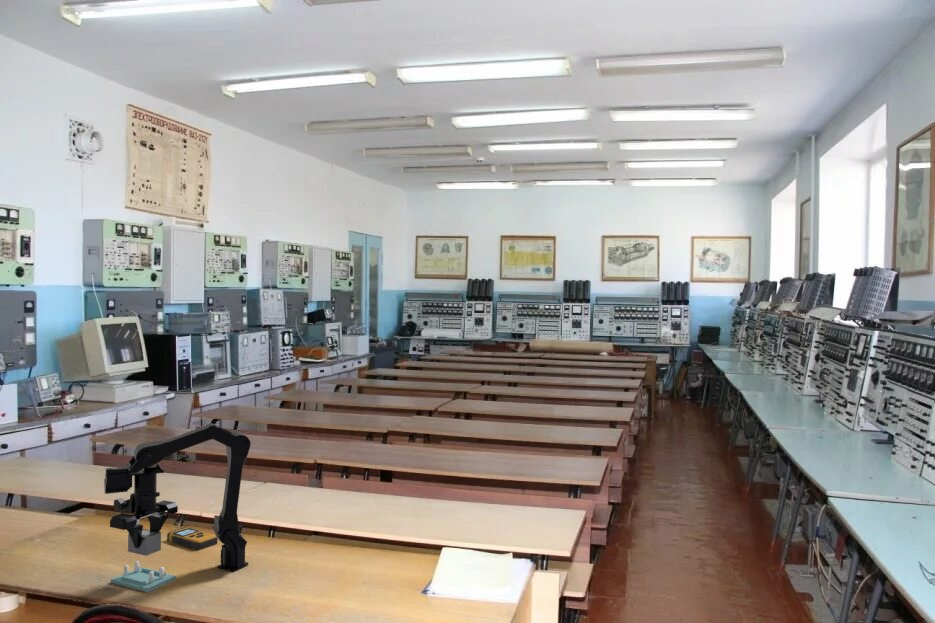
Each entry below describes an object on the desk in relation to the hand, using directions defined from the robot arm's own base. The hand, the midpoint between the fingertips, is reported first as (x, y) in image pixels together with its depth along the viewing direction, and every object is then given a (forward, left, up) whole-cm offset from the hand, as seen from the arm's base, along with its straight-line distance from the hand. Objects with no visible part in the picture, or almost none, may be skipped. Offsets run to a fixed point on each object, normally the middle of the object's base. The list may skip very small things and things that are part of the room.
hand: (144, 545), depth 203 cm
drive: (0, 0, -2) cm, 2 cm away
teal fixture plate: (0, 0, -10) cm, 10 cm away
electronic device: (+12, -30, -11) cm, 34 cm away
